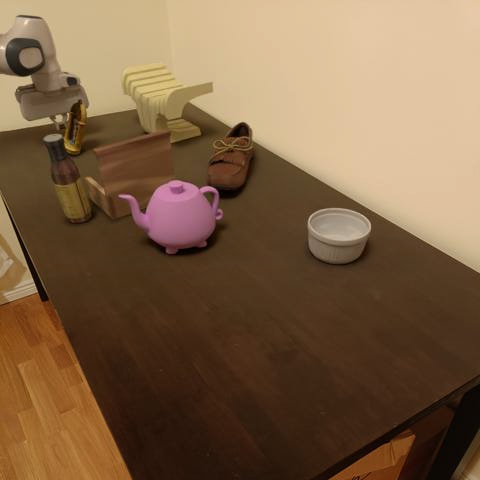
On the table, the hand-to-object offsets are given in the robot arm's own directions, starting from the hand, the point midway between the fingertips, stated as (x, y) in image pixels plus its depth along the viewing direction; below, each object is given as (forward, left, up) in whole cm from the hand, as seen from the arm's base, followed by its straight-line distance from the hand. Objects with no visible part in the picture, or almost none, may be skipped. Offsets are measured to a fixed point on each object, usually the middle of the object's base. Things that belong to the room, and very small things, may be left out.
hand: (62, 128), depth 136 cm
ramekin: (+96, -25, -5) cm, 99 cm away
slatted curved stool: (+28, +20, -5) cm, 34 cm away
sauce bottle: (+35, -36, -5) cm, 50 cm away
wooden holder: (+41, -22, -4) cm, 47 cm away
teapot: (+62, -35, -5) cm, 71 cm away
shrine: (+8, -4, -5) cm, 10 cm away
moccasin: (+60, 0, -5) cm, 60 cm away
